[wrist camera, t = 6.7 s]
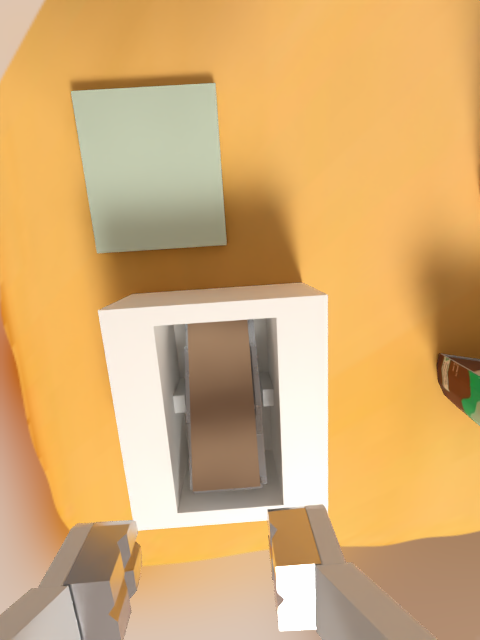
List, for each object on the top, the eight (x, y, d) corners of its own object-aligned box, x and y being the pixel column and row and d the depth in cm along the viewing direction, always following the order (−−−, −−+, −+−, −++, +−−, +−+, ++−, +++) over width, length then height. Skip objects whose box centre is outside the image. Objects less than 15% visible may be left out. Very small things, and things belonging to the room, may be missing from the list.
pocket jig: (132, 293, 26) (97, 310, 19) (302, 282, 26) (327, 294, 19) (156, 465, 30) (134, 530, 23) (305, 454, 30) (327, 515, 23)
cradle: (187, 326, 26) (183, 320, 24) (252, 321, 26) (253, 315, 24) (192, 485, 23) (187, 493, 21) (265, 479, 23) (268, 487, 21)
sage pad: (76, 96, 23) (70, 91, 22) (215, 88, 23) (215, 82, 22) (101, 253, 25) (97, 253, 24) (226, 244, 25) (226, 244, 25)
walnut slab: (193, 327, 25) (187, 319, 22) (246, 324, 25) (246, 315, 22) (198, 480, 22) (192, 491, 20) (258, 475, 22) (260, 486, 20)
